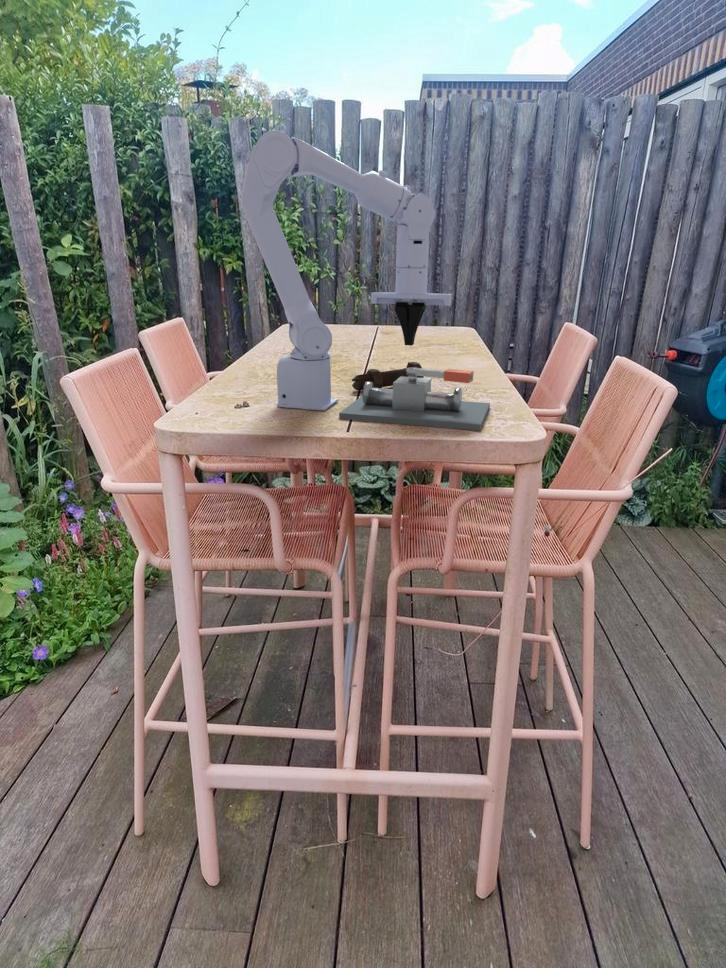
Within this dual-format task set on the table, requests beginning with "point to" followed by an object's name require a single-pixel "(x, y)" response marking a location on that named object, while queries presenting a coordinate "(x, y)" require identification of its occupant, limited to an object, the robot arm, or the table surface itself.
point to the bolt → (382, 377)
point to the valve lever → (443, 374)
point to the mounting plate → (420, 415)
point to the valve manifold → (412, 396)
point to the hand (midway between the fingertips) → (409, 344)
